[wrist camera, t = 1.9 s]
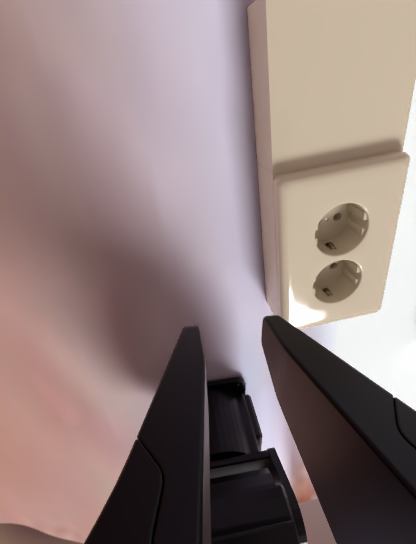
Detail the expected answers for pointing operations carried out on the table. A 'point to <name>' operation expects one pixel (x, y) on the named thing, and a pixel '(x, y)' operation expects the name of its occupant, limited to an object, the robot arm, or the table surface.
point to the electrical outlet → (330, 149)
